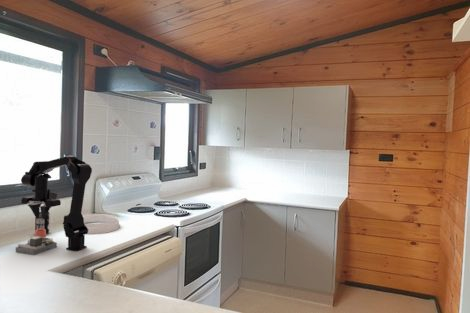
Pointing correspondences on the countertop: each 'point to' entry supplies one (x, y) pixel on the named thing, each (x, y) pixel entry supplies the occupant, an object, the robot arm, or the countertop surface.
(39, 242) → the block
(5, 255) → the countertop surface
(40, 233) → the cap
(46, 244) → the breaker panel
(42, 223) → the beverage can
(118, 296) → the countertop surface
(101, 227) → the pale pink ring
